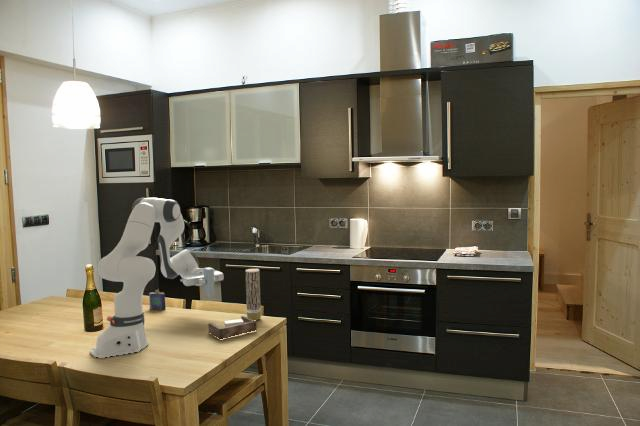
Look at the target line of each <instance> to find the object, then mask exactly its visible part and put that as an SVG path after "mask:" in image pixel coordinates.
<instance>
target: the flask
mask: <svg viewBox="0 0 640 426" xmlns="http://www.w3.org/2000/svg"><path fill="white" fill-rule="evenodd" d="M148 296H149V298H148V299H149V310H156V311H157V310H158V311H165V310H166V294H165V292H160V291H159V289H155V292H149V293H148Z"/></svg>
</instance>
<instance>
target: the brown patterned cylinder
mask: <svg viewBox="0 0 640 426" xmlns="http://www.w3.org/2000/svg"><path fill="white" fill-rule="evenodd" d="M260 275H261V274H260V269H259V268H248V269H247V268H246V269H245V292H246V293H245V294H246V317H248V318H250V319H252V320H258V319H260V318H261V319H262V316H261V315H262V314H261V308H262V307H261V280H260V278H261V276H260ZM261 319H260V320H261ZM258 321H259V320H258Z"/></svg>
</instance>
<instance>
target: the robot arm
mask: <svg viewBox="0 0 640 426" xmlns="http://www.w3.org/2000/svg"><path fill="white" fill-rule="evenodd" d="M155 223H159V226H160V232H159V235H158V237H157V247H158V252H159V253H158V254H159V259H160V260H159V261H160V263H159V265H160V272H161V274H162V275H163V277H164V278H166V279H169V280H174V279H175V278H177V277H178V276H180V277H181V278H180V279H179V281H180V282H182V283H183V285H184V287H185V286H186V287H190V286H196V287H199V286H200V287H201V286H203V285H204V284H206V283H207V280H206V279H205V280H204V267H203V268H202V267H200V266H199V265H200V261H199V258H198V257H197V255H196V254H195V253H194V252H193V251H192V250H190V249H188V248H185V249H183V250H182V251H179V252H178V253H176V254H175V255H173V256H171V254H170V253H171V252H170V250H171V249H170V248H171V246H172V245H173V244H174V242H175V241H177V239H178V238H179V237H181V235H183V233H184V230H185V221H184V218H183V215H182V213H181V206H180V204H179V203H178V201H177V200H174V199H171V198H170V199H166V198H158V197H140V198H136V200H135V201H134V202H133V203H132V206H131V213H130V214H129V217H128V219H127V223H126V224H125V228H124V230H123V234H122V236H121V237H120V238H121V239H120V240H119V242H118V243H117V245H116V246H115V247H114V249H113V250H111V251H110V253H108V254H107V255H106V256H103V257H102V258H101V259H100V260H99V261H98V264H97V267H96V269H97V274H98V276H99V277H100V278H101V279H104V280H107V281H110V282H117V283H118V282H120V283H123V286H122V290H121V291H119V292H118V293H116V294H115V296H114V299H113V305H114V306H113V308H114V315H113V316H111V315H108V316H107V317H106V321H108V322H109V324H110V325H108V326H107V328H105V329H104V330H103V331H102V332H101V333H100V334H99V335H98V336H97V338H96V345H95V346H93V347H92V348H90V355H91V354H92V355H93V356H92V355H91V356H92V357H94V358H96V357H98V358H97V359H106V358H105V357H107V358H111V357H110V356H113V357H117V356H116V355H119V356H124V355H123V354H125V355H129V354H128V353H131V354H135V353H134V352H137V353H140V352H141V351H142V350H143V349H146V348H147V347H148V346H149V341H148V339H147V335H146V331H145V314H144V313H145V312H144V311H143V295H144V291H145V288H146V286H147V284H148V283H149V282H150V281H151V280H152V279H153V278H154V277H155V274H156V270H157V269H156V264H155V262H154V260H152V258H149V257H145V256H139V255H138V254H140V252H143V251H144V250H145V249H146V248H148V247H149V243H150V240H151V237H152V234H153V230H154V226H155ZM220 281H224V273H223V272H221V271H219V270H215V269H214V283H216V282H220ZM147 345H148V346H147ZM146 346H147V347H146ZM141 349H142V350H141ZM140 350H141V351H140ZM139 351H140V352H139Z"/></svg>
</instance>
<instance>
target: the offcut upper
mask: <svg viewBox="0 0 640 426" xmlns="http://www.w3.org/2000/svg"><path fill="white" fill-rule="evenodd" d="M243 323H244V322H243V320H242V319H241V318H238V319H230V320H224V323H223V326H224V328H225V327H229V326H234V325H238V324H243Z"/></svg>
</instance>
